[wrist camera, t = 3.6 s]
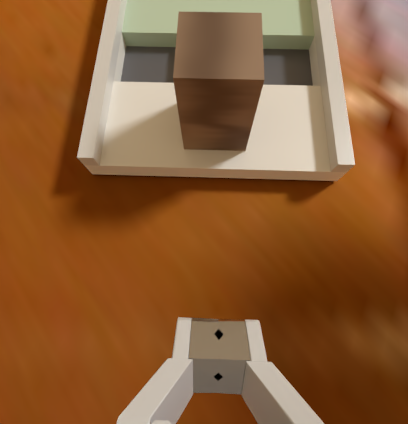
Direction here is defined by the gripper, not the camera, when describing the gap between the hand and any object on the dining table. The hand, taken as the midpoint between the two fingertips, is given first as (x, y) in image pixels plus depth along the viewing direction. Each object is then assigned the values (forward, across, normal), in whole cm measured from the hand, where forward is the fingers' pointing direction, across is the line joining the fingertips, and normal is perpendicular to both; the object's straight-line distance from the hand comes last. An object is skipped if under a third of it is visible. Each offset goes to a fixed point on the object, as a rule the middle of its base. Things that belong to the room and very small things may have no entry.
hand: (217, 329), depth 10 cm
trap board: (+29, 0, -9) cm, 30 cm away
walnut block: (+21, 0, -4) cm, 22 cm away
